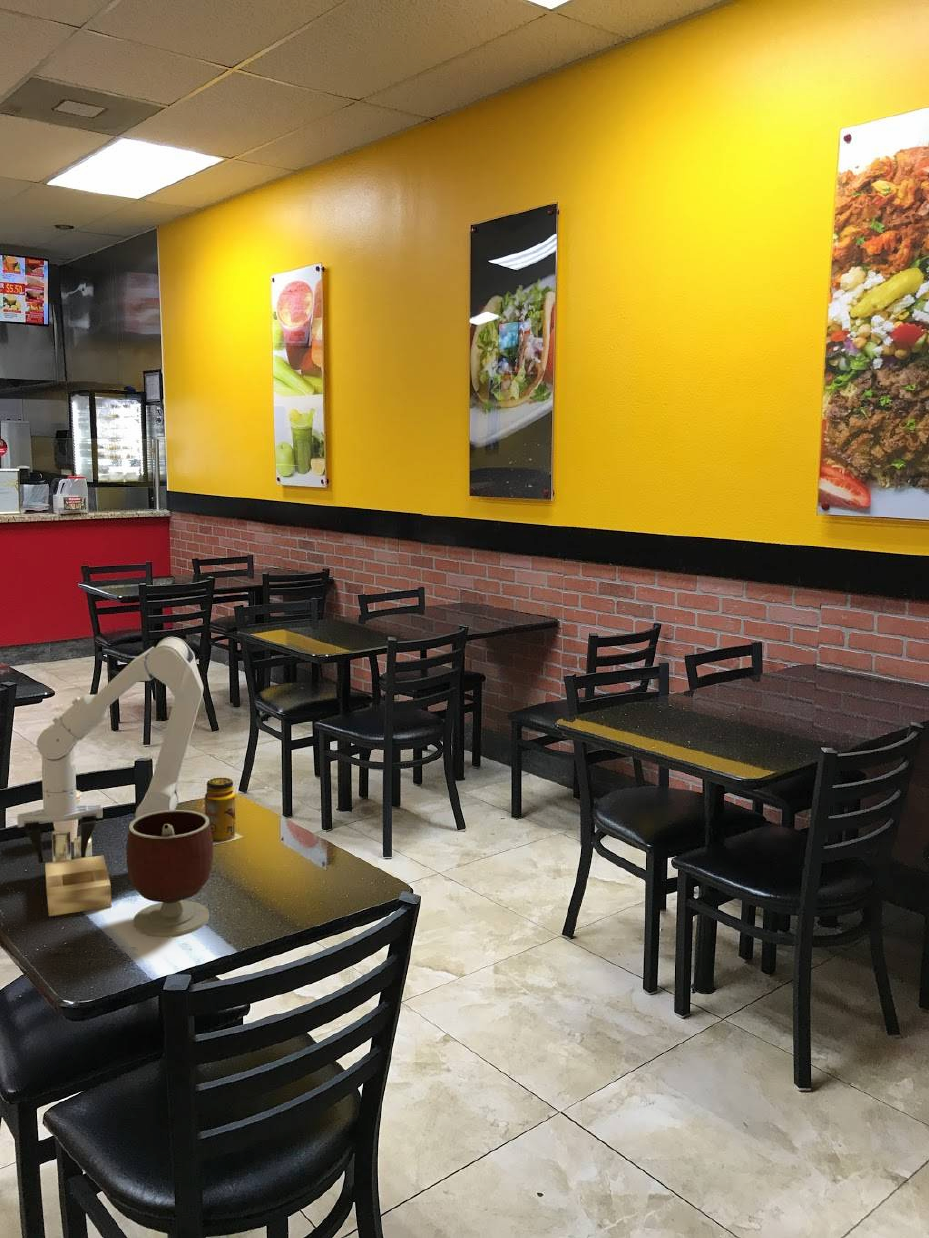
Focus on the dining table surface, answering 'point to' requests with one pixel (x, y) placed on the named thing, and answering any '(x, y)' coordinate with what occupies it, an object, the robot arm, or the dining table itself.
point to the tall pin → (61, 845)
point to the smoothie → (70, 821)
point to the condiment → (221, 810)
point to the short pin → (78, 848)
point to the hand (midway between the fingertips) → (62, 858)
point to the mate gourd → (170, 869)
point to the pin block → (77, 885)
